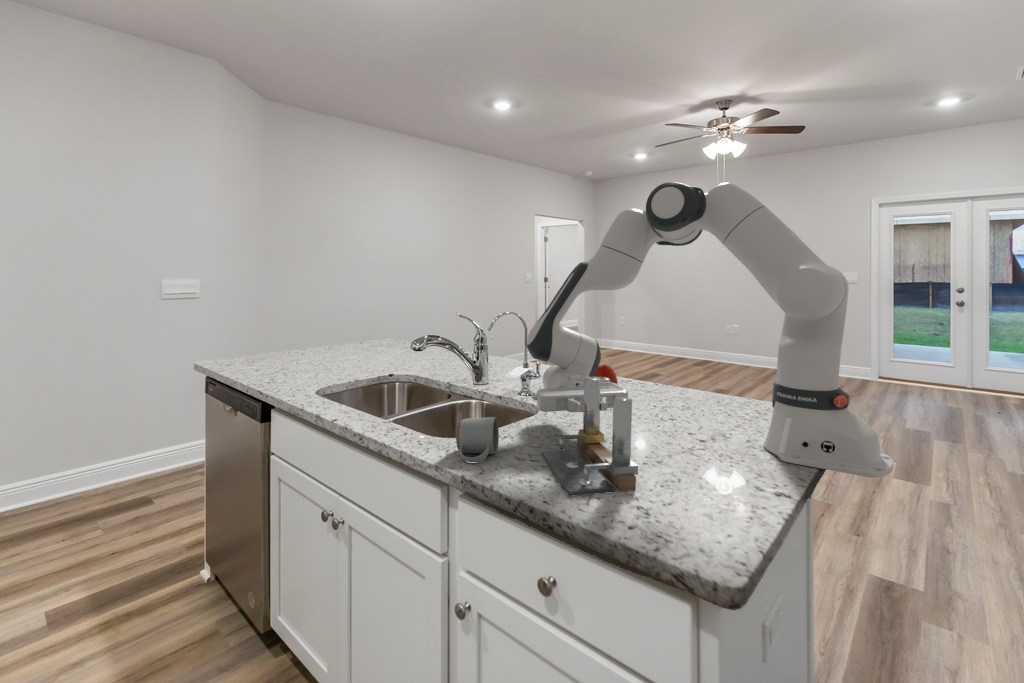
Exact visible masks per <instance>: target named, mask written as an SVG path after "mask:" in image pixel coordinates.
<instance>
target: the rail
mask: <svg viewBox="0 0 1024 683" xmlns="http://www.w3.org/2000/svg"><path fill="white" fill-rule="evenodd" d="M576 445H577V448H578V449H579V450H580V451H581V452H582V453H583V454H584V455H585V456H586V457H587V459H588V460H589V461H590V462H591V463H592V464H601V463H605V458H612V452H610V450H608V448H606V447H605V446H604V445H603V444H602V442H601V443H587V444H585V443H584V442H583V441H582V439H576ZM598 471H599V472H600V473H601V474H602V475H603V476H604V477H605V479H606V480H607V481H608V482H609V483H610V484H611V485H612V486H613V487H614V486H615V487H616V488H617V489H618V490H619V491H623V492H630V491H629V490H634V491H636V488H637V486H636V484H637V476H636V475H626V476H613V475H612V474H611V473H610V472H609V471H608V470H607V469H598ZM615 487H614V488H615ZM616 488H615V489H616ZM617 489H616V490H617ZM618 490H617V491H618ZM619 491H618V492H619Z"/></svg>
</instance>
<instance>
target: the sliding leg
mask: <svg viewBox="0 0 1024 683" xmlns="http://www.w3.org/2000/svg"><path fill="white" fill-rule="evenodd" d="M584 403H585V412H582V413H583V416H582V417H583V420H582V423H583V424H582V428H583V429H580V428H579V429H578V434H563V435H559V439H558V440H559V445H558V446H559V447H558V448H559V449H558V450H562V449H564V441H567V440H568V441H570V440H577V439H582V441H583V442H584V443H585V444H587V443H601V444H602V443H605V434H604V433H603V432H602V431H601V428H600V427H601V416H600V415H601V411H600V379H599V378H584Z"/></svg>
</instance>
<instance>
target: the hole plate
mask: <svg viewBox="0 0 1024 683" xmlns="http://www.w3.org/2000/svg"><path fill="white" fill-rule="evenodd" d="M540 451H541V454H542V455H541V456H542V458H543V457H544V458H543V459H544V461H545V460H546V461H545V462H546V463H547V465H548V467H549V468H550V470H551V471H552V472H553V474H554V476H555V477H556V479H557V478H558V479H557V480H558V482H559V481H560V482H559V483H560V485H561V484H562V485H561V486H562V488H563V487H564V488H563V489H564V491H565V490H566V491H565V492H566V494H567V493H568V494H567V495H568V497H571V496H570V495H577V496H585V495H584V494H589V495H596V494H595V493H600V494H607V493H606V492H612V493H615V487H614V485H613V484H612V483H611V482H610V481H609V480H608V479H607V478H606V477H605V476H604V474H603V473H602V472H601V471H600V470H599V469H596V470H588V481H584V465H588V464H593V462H592V461H591V460H590V459H589V458H588V457H587V456H586V455H585V454H584V452H583V451H582V450H581V449H580V448H579V447H577V448H563V449H562V450H561V449H552V450H551V449H549V450H548V449H547V450H540ZM582 494H583V495H582Z"/></svg>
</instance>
